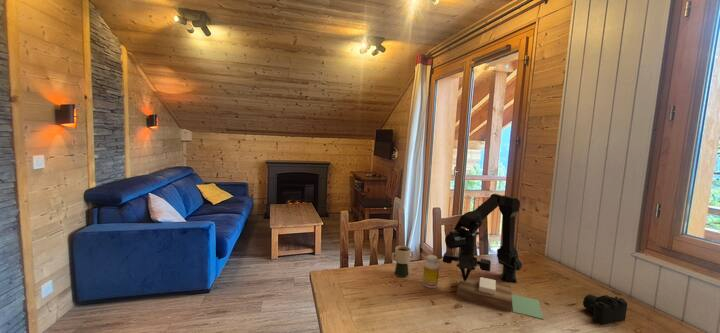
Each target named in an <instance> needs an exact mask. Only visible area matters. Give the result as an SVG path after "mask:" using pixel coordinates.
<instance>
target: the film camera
mask: <svg viewBox="0 0 720 333" xmlns="http://www.w3.org/2000/svg"><path fill="white" fill-rule="evenodd" d="M582 305H583V307H584V308H586V310H587V311H590V312H591V313H592V322H594V323H596V324H598V325H608V324H613V323H617V322H623V321H625V320H626V315H627V309H628V302H627V301H626V300H625V299H624V298H622V297H618V296H617V295H616V296H615V297H614V296H610V295H608V294H605V295H601V296H596V295H594V294H587V295H585V297H584V298H583V301H582Z"/></svg>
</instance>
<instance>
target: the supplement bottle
mask: <svg viewBox="0 0 720 333" xmlns="http://www.w3.org/2000/svg"><path fill="white" fill-rule="evenodd" d="M439 276H440V264H439V262H438V256H436V255H434V254H428V255H426V260H425V261H424V263H423V274H422V285H423V286H424V287H426V288H428V289H435V288H437V287H438V286H439Z"/></svg>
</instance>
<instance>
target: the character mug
mask: <svg viewBox="0 0 720 333" xmlns="http://www.w3.org/2000/svg"><path fill="white" fill-rule="evenodd" d="M394 248H395V249H394V252H392V253H391V260H393V261H395V262H396V265H395V269H394V270H395V271H394V274H395V275H396V276H398V277H401V278H405V277H408V275H409V266H408V264H409V263H410V262H411V259H413V258H414V251H412V250H411V247H409V246H406V245H396V246H395V247H394Z"/></svg>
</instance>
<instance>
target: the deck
mask: <svg viewBox="0 0 720 333" xmlns="http://www.w3.org/2000/svg"><path fill="white" fill-rule="evenodd" d="M459 278H460V279H459V282H458V286H457V290H456V299H458V300H461V301H467V302H470V303H475V304H478V305H483V306H487V307H490V308H495V309H499V310H502V311H507V312H513V308H512V294H513V293H512V285H510V284H504V283H500V282H496V291H495V295H494V294H490V293H485V292H481V291H479V285H480V278H477V277H472V276H468V277H467V280H466V281H464V280H463V276H462V274H460V277H459Z"/></svg>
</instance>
